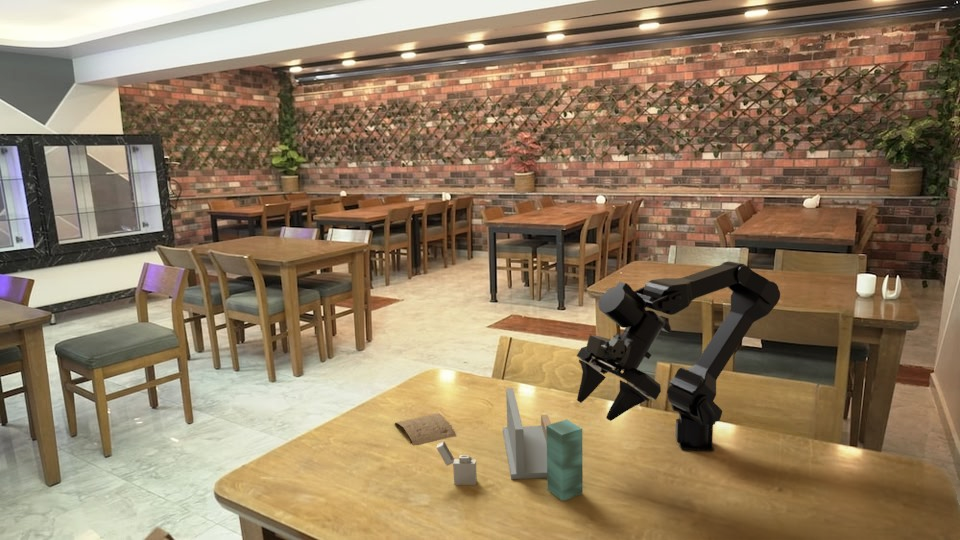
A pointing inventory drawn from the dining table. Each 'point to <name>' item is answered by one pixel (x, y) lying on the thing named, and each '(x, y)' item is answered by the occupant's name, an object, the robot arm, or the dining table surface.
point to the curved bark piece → (427, 429)
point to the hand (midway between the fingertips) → (593, 410)
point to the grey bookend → (525, 443)
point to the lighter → (459, 466)
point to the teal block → (564, 459)
